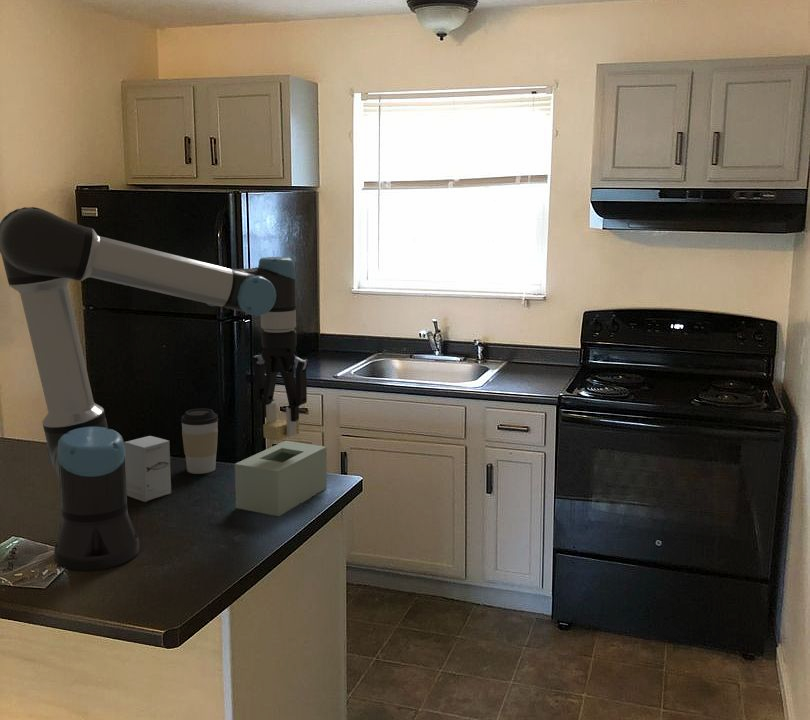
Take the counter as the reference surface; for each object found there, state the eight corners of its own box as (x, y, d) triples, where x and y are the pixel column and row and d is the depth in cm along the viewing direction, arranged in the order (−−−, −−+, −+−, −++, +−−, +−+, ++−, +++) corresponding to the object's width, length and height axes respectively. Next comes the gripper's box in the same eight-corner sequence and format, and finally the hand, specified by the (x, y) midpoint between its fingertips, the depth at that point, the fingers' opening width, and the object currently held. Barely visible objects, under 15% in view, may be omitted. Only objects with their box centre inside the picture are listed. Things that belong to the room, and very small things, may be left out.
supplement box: (145, 502, 194) (142, 447, 192) (124, 495, 199) (122, 441, 196) (172, 493, 200) (170, 440, 198) (152, 487, 205) (149, 434, 202)
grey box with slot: (278, 516, 187) (277, 471, 185) (235, 507, 192) (234, 463, 190) (326, 488, 205) (326, 446, 203) (286, 481, 209) (285, 440, 208)
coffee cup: (174, 471, 216) (172, 411, 213) (199, 461, 224) (197, 404, 221) (203, 477, 212) (201, 416, 209) (227, 467, 219) (225, 408, 217)
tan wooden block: (276, 440, 191) (276, 427, 190) (263, 437, 193) (263, 424, 193) (299, 433, 196) (298, 420, 196) (286, 430, 199) (285, 417, 198)
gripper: (322, 329, 190) (324, 434, 194) (255, 324, 197) (258, 424, 202) (304, 335, 183) (306, 443, 188) (234, 328, 191) (238, 433, 195)
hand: (281, 433), depth 195 cm, fingers closed on tan wooden block, 4 cm apart
